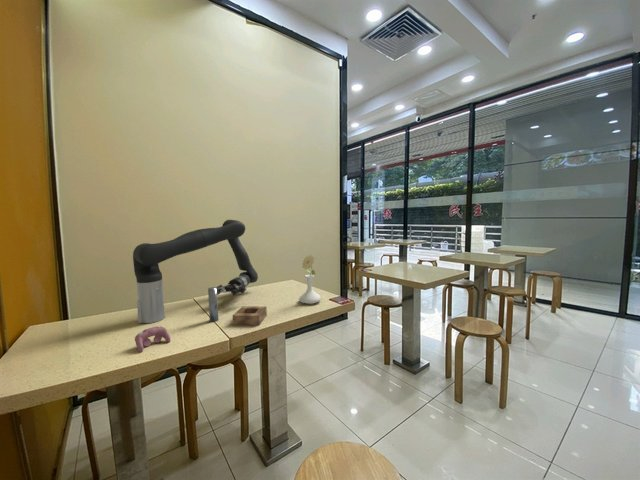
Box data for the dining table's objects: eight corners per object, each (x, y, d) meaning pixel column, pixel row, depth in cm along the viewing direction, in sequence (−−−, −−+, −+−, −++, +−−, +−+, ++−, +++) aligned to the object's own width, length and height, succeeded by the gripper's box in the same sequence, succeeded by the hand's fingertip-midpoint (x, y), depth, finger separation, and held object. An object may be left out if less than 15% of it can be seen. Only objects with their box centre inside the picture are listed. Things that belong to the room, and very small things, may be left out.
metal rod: (209, 322, 109) (208, 289, 108) (209, 319, 112) (207, 287, 111) (218, 321, 111) (217, 288, 110) (218, 318, 114) (216, 286, 113)
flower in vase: (296, 300, 138) (295, 253, 136) (317, 297, 141) (316, 252, 139) (302, 307, 125) (301, 256, 123) (325, 305, 129) (324, 255, 127)
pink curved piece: (168, 343, 95) (163, 324, 96) (172, 341, 92) (167, 321, 93) (136, 354, 87) (131, 333, 88) (139, 352, 84) (135, 331, 86)
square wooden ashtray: (232, 324, 106) (232, 315, 106) (242, 315, 117) (242, 306, 117) (259, 325, 105) (259, 315, 105) (266, 315, 116) (266, 306, 116)
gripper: (224, 277, 138) (209, 285, 122) (250, 277, 137) (239, 285, 121) (225, 291, 139) (210, 300, 123) (251, 291, 138) (239, 301, 122)
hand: (224, 293), depth 122 cm, fingers open, 8 cm apart
